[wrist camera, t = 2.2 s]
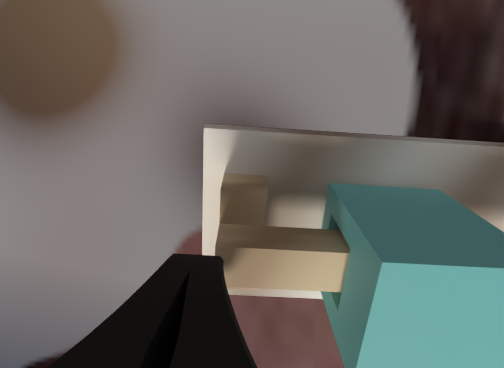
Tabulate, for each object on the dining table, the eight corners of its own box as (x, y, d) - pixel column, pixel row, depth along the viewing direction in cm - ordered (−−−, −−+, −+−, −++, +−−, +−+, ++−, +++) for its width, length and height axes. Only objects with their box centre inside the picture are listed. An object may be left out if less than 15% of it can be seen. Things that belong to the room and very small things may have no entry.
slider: (439, 189, 11) (563, 271, 7) (413, 277, 13) (502, 393, 8) (329, 182, 11) (382, 262, 7) (314, 272, 13) (351, 387, 8)
